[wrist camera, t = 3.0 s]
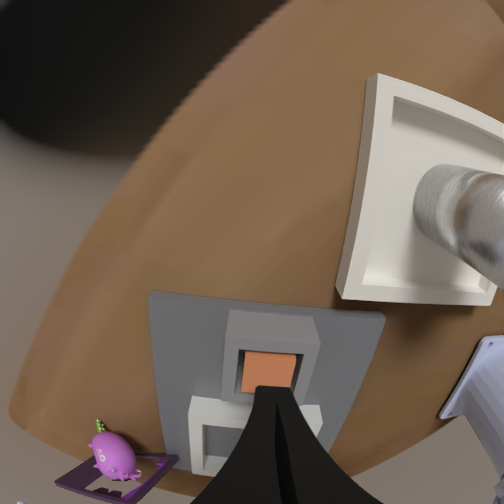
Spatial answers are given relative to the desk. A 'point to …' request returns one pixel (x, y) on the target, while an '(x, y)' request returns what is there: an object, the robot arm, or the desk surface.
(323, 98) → the desk surface
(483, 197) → the cylinder
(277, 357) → the button
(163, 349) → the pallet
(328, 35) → the desk surface
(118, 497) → the eggplant monster toy
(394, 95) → the tray
